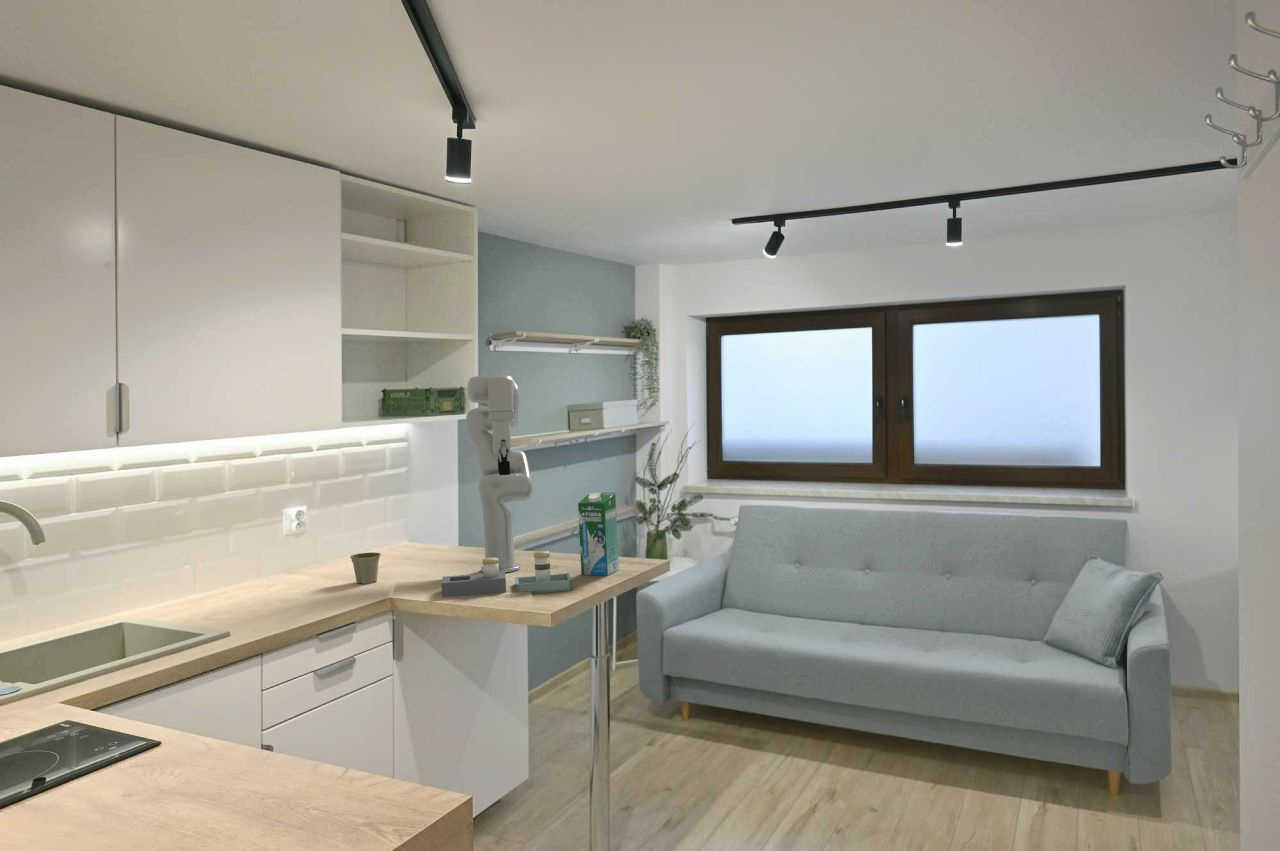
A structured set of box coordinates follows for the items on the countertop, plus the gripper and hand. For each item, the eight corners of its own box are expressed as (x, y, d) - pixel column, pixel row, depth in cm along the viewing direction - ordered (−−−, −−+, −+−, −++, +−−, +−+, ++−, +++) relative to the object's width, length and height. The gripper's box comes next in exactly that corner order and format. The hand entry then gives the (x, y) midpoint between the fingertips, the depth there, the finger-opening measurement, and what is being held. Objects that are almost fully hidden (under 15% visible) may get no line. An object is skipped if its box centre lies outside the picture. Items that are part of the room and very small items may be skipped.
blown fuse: (535, 585, 263) (533, 551, 263) (550, 583, 264) (548, 550, 264) (536, 588, 259) (534, 554, 258) (551, 587, 259) (550, 553, 259)
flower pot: (388, 581, 282) (386, 554, 282) (361, 586, 275) (359, 559, 275) (372, 577, 288) (371, 551, 288) (345, 583, 281) (344, 556, 281)
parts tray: (515, 587, 265) (515, 577, 265) (569, 583, 268) (568, 573, 268) (517, 594, 255) (516, 584, 255) (572, 590, 258) (571, 580, 258)
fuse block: (443, 593, 261) (442, 559, 260) (505, 588, 264) (504, 555, 263) (442, 600, 252) (440, 565, 252) (506, 595, 255) (504, 561, 255)
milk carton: (581, 574, 279) (577, 495, 278) (593, 568, 287) (589, 492, 286) (607, 575, 275) (603, 495, 274) (618, 569, 284) (615, 492, 283)
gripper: (488, 416, 276) (491, 470, 277) (489, 418, 259) (492, 477, 260) (512, 415, 277) (515, 469, 278) (515, 417, 260) (518, 475, 261)
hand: (504, 473), depth 269 cm, fingers open, 9 cm apart
